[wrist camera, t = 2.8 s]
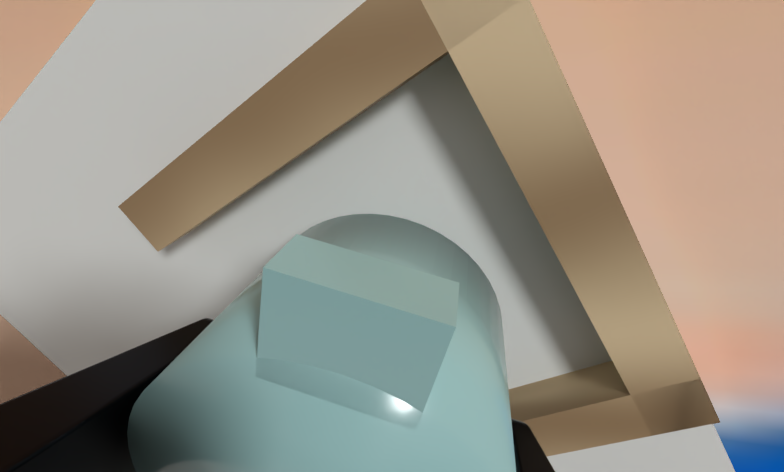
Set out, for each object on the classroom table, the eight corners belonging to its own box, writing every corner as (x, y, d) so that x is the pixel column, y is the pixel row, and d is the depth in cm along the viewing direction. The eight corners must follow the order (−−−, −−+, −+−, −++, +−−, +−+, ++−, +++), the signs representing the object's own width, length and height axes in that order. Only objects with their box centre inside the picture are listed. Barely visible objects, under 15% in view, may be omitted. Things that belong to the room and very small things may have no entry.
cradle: (694, 383, 10) (719, 422, 9) (377, 458, 14) (369, 491, 13) (483, -75, 7) (485, -99, 6) (152, 191, 11) (117, 206, 10)
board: (722, 453, 12) (738, 478, 11) (262, 531, 20) (254, 548, 19) (374, -298, 7) (362, -340, 6) (-61, 225, 15) (-88, 233, 14)
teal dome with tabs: (282, 133, 8) (85, 212, 4) (565, 212, 7) (667, 392, 3) (255, 466, 14) (163, 638, 10) (416, 524, 13) (389, 730, 9)
